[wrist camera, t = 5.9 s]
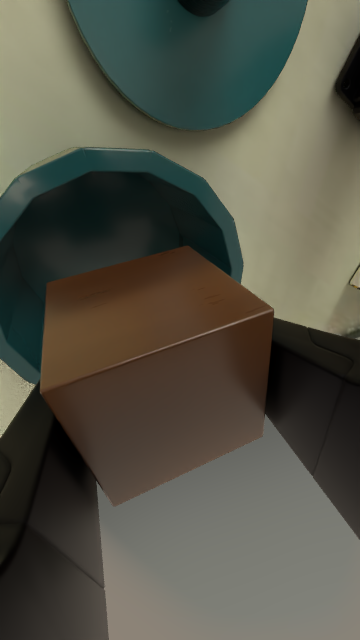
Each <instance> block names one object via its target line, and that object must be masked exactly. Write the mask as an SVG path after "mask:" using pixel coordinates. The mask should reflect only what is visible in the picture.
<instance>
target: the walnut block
mask: <svg viewBox="0 0 360 640" xmlns="http://www.w3.org/2000/svg"><path fill="white" fill-rule="evenodd" d="M273 319H274V309H273V308H272V307H271V306H269V305H268V304H267V303H265V302H264V301H262V300H261V299H260V298H258V297H257V296H256V295H254V294H253V293H252V292H250V291H249V290H248V289H246V288H245V287H243V286H242V285H241V284H239V283H238V282H237V281H235V280H234V279H233V278H231V277H230V276H229V275H227V274H226V273H224V272H223V271H222V270H220V269H219V268H218V267H216V266H215V265H214V264H212V263H211V262H210V261H208V260H207V259H205V258H204V257H203V256H201V255H200V254H199V253H197V252H196V251H195V250H193V249H192V248H191V247H189V246H183V247H180V248H176V249H172V250H168V251H164V252H161V253H157V254H153V255H149V256H146V257H142V258H138V259H134V260H131V261H127V262H123V263H119V264H115V265H112V266H108V267H104V268H100V269H97V270H93V271H89V272H85V273H81V274H78V275H74V276H70V277H66V278H63V279H59V280H55V281H51V282H48V283H46V299H45V315H44V331H43V347H42V363H41V379H40V393H41V395H42V397H43V398H44V400H45V401H46V403H47V404H48V406H49V407H50V409H51V411H52V412H53V414H54V415H55V417H56V418H57V420H58V421H59V423H60V425H61V426H62V428H63V429H64V431H65V432H66V434H67V435H68V437H69V439H70V440H71V442H72V443H73V445H74V446H75V448H76V449H77V451H78V453H79V454H80V456H81V457H82V459H83V460H84V462H85V464H86V465H87V467H88V468H89V470H90V471H91V473H92V474H93V476H94V478H95V479H96V481H97V482H98V484H99V485H100V487H101V488H102V490H103V491H104V493H105V495H106V496H107V497H108V499H109V501H110V502H111V504H112V505H113V506H117V505H119V504H122V503H123V502H126V501H128V500H130V499H132V498H134V497H136V496H138V495H140V494H143V493H145V492H147V491H149V490H151V489H153V488H155V487H157V486H159V485H161V484H164V483H166V482H168V481H170V480H172V479H174V478H176V477H178V476H180V475H182V474H185V473H187V472H189V471H191V470H193V469H195V468H197V467H199V466H201V465H204V464H206V463H208V462H210V461H212V460H214V459H216V458H218V457H220V456H222V455H225V454H226V453H229V452H231V451H233V450H235V449H237V448H239V447H241V446H244V445H245V444H248V443H250V442H252V441H254V440H256V439H258V438H260V437H262V436H263V431H264V420H265V409H266V398H267V386H268V375H269V364H270V353H271V341H272V330H273Z"/></svg>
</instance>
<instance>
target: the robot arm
mask: <svg viewBox="0 0 360 640" xmlns="http://www.w3.org/2000/svg"><path fill="white" fill-rule="evenodd" d="M344 82H345V85H344ZM336 92H337V94H338V95H339V96H340V97H341V98H342V99H343V100H344V101H345V103H346V104H347V105H348V106H349V107H350V108H351V109H352V111H353V114H354V115H355V116H356V117H357V119H358V120H359V121H360V37H359V39H358V41H357V43H356V45H355V47H354V49H353V51H352V53H351V54H350V56H349V58H348V60H347V62H346V64H345V66H344V68H343V70H342V72H341V74H340V76H339V78H338V80H337V83H336ZM40 379H41V378H40ZM40 379H39V381H38V382H37V384H36V385H35V387H34V389H33V390H32V392H31V393H30V395H29V396H28V398H27V399H26V401H25V402H24V404H23V405H22V407H21V408H20V410H19V411H18V413H17V414H16V416H15V417H14V419H13V420H12V422H11V423H10V425H9V426H8V428H7V429H6V431H5V432H4V434H3V435H2V437H1V438H0V640H109V638H108V625H107V612H106V599H105V590H104V576H103V575H104V574H103V562H102V549H101V537H100V524H99V510H98V497H97V485H96V479H95V478H94V476H93V474H92V473H91V471H90V470H89V468H88V467H87V465H86V464H85V462H84V460H83V459H82V457H81V456H80V454H79V453H78V451H77V449H76V448H75V446H74V445H73V443H72V442H71V440H70V439H69V437H68V435H67V434H66V432H65V431H64V429H63V428H62V426H61V425H60V423H59V421H58V420H57V418H56V417H55V415H54V414H53V412H52V411H51V409H50V407H49V406H48V404H47V403H46V401H45V400H44V398H43V397H42V395H41V393H40ZM265 414H266V415H267V417H268V418H269V419H270V420H271V422H272V423H273V425H274V426H275V427H276V429H277V430H278V431H279V433H280V434H281V435H282V437H283V438H284V439H285V440H286V442H287V443H288V444H289V446H290V447H291V448H292V450H293V451H294V453H295V454H296V455H297V456H298V458H299V459H300V461H301V462H302V463H303V465H304V466H305V467H306V469H307V470H308V471H309V472H310V474H311V475H312V476H313V478H314V479H315V481H316V482H317V483H318V485H319V486H320V487H321V489H322V490H323V491H324V493H325V494H326V495H327V497H328V498H329V499H330V500H331V502H332V503H333V505H334V506H335V507H336V509H337V510H338V511H339V513H340V514H341V515H342V517H343V518H344V519H345V521H346V522H347V523H348V525H349V526H350V527H351V529H352V530H353V531H354V533H355V534H356V535H357V537H358V538H359V539H360V340H357V339H353V338H348V337H344V336H339V335H335V334H331V333H328V332H324V331H320V330H316V329H313V328H309V327H308V328H307V327H306V326H302V325H299V324H295V323H291V322H288V321H284V320H281V319H277V318H274V319H273V330H272V341H271V353H270V364H269V375H268V386H267V398H266V409H265Z"/></svg>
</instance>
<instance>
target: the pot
mask: <svg viewBox="0 0 360 640" xmlns="http://www.w3.org/2000/svg"><path fill="white" fill-rule="evenodd" d="M183 246H189V247H191V248H192V249H193V250H195V251H196V252H197V253H199V254H200V255H201V256H203V257H204V258H205V259H207V260H208V261H210V262H211V263H212V264H214V265H215V266H216V267H218V268H219V269H220V270H222V271H223V272H224V273H226V274H227V275H229V276H230V277H231V278H233V279H234V280H235V281H237V282H238V283H239V284H241V279H242V272H243V258H242V254H241V249H240V244H239V240H238V235H237V230H236V226H235V222H234V219H233V217H232V216H231V215H230V213H229V212H228V210H227V209H226V208H225V206H224V205H223V204H222V202H221V201H220V199H219V198H218V197H217V195H216V194H215V193H214V191H213V190H212V188H211V187H210V186H209V184H208V183H207V182H206V180H205V179H204V178H203V177H201V176H199V175H197V174H195V173H193V172H192V171H190V170H188V169H186V168H184V167H182V166H180V165H179V164H177V163H175V162H173V161H171V160H169V159H168V158H166V157H164V156H162V155H160V154H158V153H156V152H155V151H151V150H146V149H122V148H98V147H73V148H69V149H67V150H64V151H62V152H60V153H58V154H56V155H53V156H51V157H49V158H47V159H45V160H42V161H40V162H38V163H36V164H34V165H31V166H30V167H29V168H28V169H26V170H25V171H24V172H22V173H21V174H20V175H18V176H17V177H16V178H15V179H14V180H13V181H12V183H11V184H10V185H9V187H8V188H7V189H6V190H5V192H4V193H3V194H2V196H1V197H0V359H1V360H2V361H4V362H5V363H6V364H7V365H8V366H9V367H10V368H12V369H13V370H14V371H15V372H16V373H17V374H18V375H20V376H21V377H22V378H23V379H24V380H25V381H28V382H29V383H32V384H35V385H36V384H37V382H38V381H39V379H40V378H41V363H42V347H43V331H44V315H45V299H46V283H48V282H51V281H55V280H59V279H63V278H66V277H70V276H74V275H78V274H81V273H85V272H89V271H93V270H97V269H100V268H104V267H108V266H112V265H115V264H119V263H123V262H127V261H131V260H134V259H138V258H142V257H146V256H149V255H153V254H157V253H161V252H164V251H168V250H172V249H176V248H180V247H183Z"/></svg>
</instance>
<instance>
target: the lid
mask: <svg viewBox="0 0 360 640" xmlns="http://www.w3.org/2000/svg"><path fill="white" fill-rule="evenodd" d="M307 1H308V0H66V2H67V5H68V8H69V10H70V13H71V15H72V17H73V20H74V22H75V24H76V26H77V28H78V31H79V33H80V35H81V37H82V39H83V41H84V43H85V45H86V46H87V48H88V50H89V52H90V53H91V55H92V57H93V59H94V60H95V62H96V63H97V65H98V66H99V67H100V69H101V70H102V72H103V73H104V75H105V76H106V77H107V79H108V80H109V81H110V82H111V84H112V85H113V86H114V87H115V88H116V89H117V90H118V92H119V93H120V94H121V95H122V96H123V97H124V98H125V99H126V100H128V101H129V102H130V103H131V104H132V105H133V106H134V107H135V108H137V109H138V110H139V111H141V112H142V113H144V114H145V115H147V116H148V117H150V118H152V119H154V120H155V121H157V122H159V123H161V124H164V125H167V126H170V127H173V128H176V129H182V130H188V131H201V130H209V129H214V128H218V127H221V126H224V125H226V124H229V123H231V122H233V121H235V120H236V119H238V118H240V117H242V116H243V115H244V114H245V113H247V112H248V111H249V110H251V109H252V108H253V107H254V106H255V105H256V104H257V103H258V102H259V101H260V100H261V99H262V98H263V97H264V96H265V94H266V93H267V92H268V90H269V89H270V88H271V87H272V85H273V84H274V82H275V81H276V79H277V78H278V76H279V74H280V73H281V71H282V70H283V68H284V66H285V64H286V62H287V60H288V58H289V56H290V54H291V51H292V49H293V46H294V44H295V41H296V39H297V36H298V33H299V30H300V27H301V24H302V20H303V17H304V14H305V10H306V5H307Z"/></svg>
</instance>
